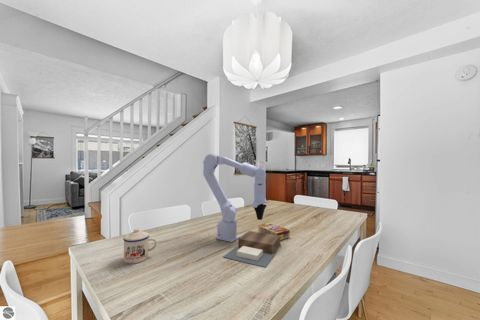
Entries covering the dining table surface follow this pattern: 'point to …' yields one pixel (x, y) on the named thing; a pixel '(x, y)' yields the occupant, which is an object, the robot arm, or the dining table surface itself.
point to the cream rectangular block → (250, 253)
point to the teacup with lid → (137, 246)
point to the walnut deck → (260, 241)
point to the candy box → (274, 230)
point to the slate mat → (261, 262)
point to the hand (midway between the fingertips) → (259, 219)
